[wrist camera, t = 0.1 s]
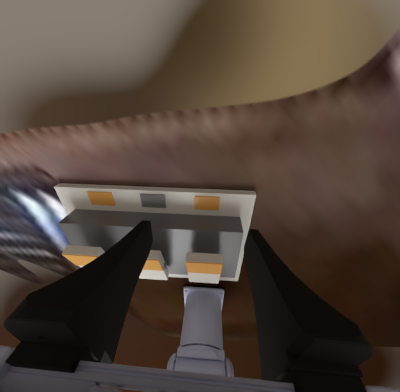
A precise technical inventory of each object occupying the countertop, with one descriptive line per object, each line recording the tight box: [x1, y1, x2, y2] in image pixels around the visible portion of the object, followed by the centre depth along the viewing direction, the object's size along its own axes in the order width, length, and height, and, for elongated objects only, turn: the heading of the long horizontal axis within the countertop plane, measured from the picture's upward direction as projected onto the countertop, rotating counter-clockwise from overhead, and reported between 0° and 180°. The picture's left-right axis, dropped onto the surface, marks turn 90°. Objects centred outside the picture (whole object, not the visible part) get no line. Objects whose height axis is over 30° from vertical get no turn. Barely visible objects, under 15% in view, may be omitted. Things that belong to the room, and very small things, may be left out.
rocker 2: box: [139, 250, 169, 280], centre depth 22 cm, size 7×4×1 cm, turn 0°
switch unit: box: [54, 183, 256, 281], centre depth 25 cm, size 18×26×4 cm
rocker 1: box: [62, 245, 105, 267], centre depth 22 cm, size 7×4×1 cm, turn 0°
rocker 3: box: [186, 252, 223, 284], centre depth 21 cm, size 7×4×1 cm, turn 0°
